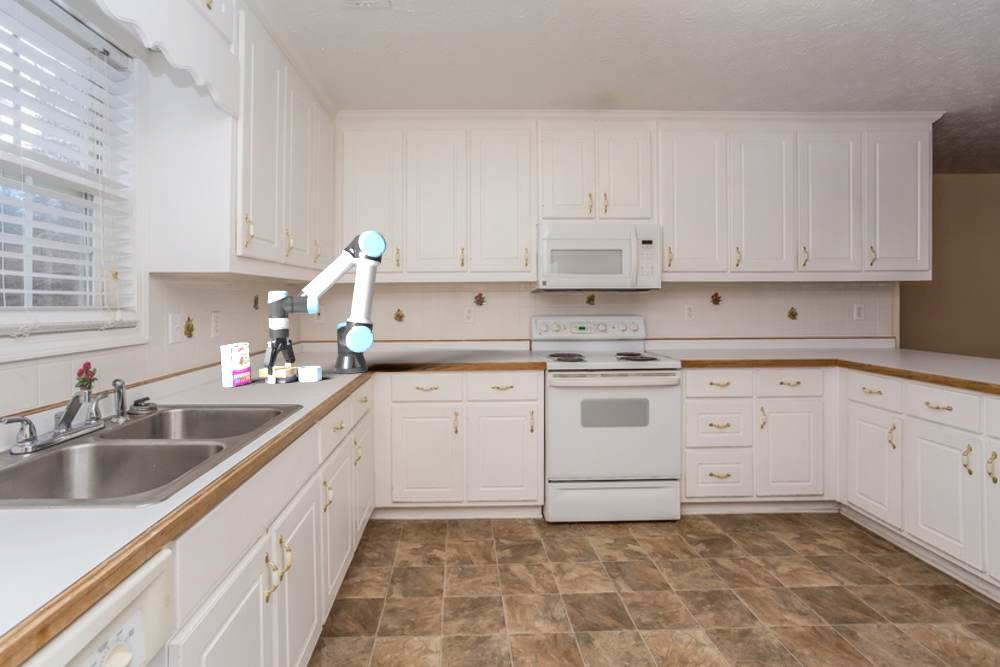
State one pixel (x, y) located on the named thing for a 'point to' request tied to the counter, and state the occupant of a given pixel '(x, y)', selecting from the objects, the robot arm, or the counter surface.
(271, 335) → the robot arm
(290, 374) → the lid board
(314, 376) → the bowl
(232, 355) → the candy bar box
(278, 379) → the block
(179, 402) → the counter surface
